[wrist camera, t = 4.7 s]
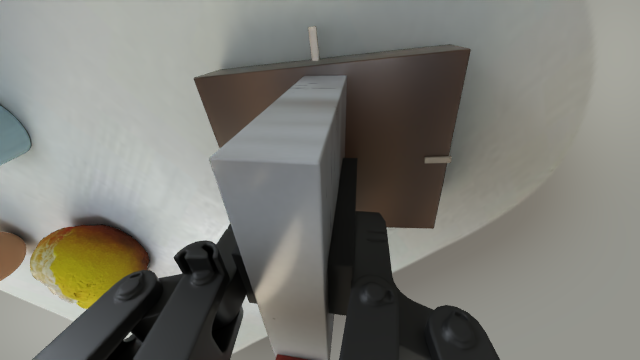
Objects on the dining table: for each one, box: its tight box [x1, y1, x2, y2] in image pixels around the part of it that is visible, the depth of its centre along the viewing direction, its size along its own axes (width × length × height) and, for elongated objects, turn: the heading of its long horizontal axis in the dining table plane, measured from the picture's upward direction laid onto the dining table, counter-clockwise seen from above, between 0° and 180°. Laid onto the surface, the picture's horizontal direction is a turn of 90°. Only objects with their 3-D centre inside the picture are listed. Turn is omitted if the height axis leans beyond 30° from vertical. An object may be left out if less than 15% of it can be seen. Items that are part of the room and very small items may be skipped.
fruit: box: [30, 224, 150, 309], centre depth 27 cm, size 11×10×8 cm
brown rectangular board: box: [194, 26, 471, 228], centre depth 16 cm, size 14×14×3 cm
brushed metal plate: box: [209, 75, 347, 360], centre depth 11 cm, size 10×2×9 cm, turn 2°
